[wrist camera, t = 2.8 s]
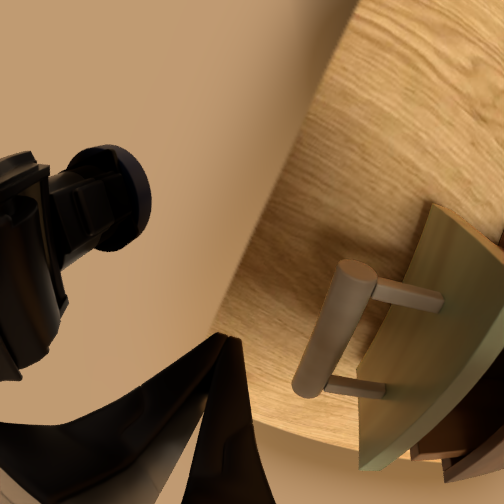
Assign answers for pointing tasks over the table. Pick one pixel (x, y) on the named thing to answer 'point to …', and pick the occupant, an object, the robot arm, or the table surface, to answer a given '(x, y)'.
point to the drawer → (419, 347)
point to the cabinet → (477, 453)
